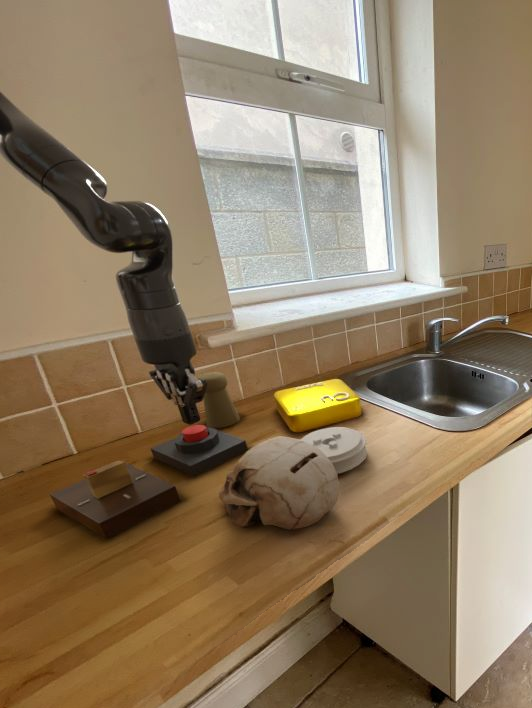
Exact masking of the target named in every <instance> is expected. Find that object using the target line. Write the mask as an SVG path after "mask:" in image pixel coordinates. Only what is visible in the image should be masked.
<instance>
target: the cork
mask: <svg viewBox="0 0 532 708" xmlns="http://www.w3.org/2000/svg"><path fill="white" fill-rule="evenodd" d="M196 378H197V379H198V380H202V379H205V380H206V382H207V387H206V391H205V394H204V398H203V407H204V414H205V421H206V426H208V427H211V428H214V429H222V428H227V427H230V426H233V425H235V424H237V423H239V421H240V419H241V417H240V414H239V413H238V411H237V409H236V406H235V404H234V402H233V400H232V397H231V395H230V393H229V391H228V389H227V386H228V379H227V377H226V375H225V374H224V373H222V372H219V371H210V372H205V373H203V374H201V375H199V376H198V377H196Z"/></svg>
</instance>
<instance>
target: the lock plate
mask: <svg viewBox="0 0 532 708" xmlns="http://www.w3.org/2000/svg"><path fill="white" fill-rule="evenodd" d="M124 463H125V465H126V467H127V470H128V472H129V475H130V477H131V479H132V482H133V483H132V484H130V485H128V486H125V487H123V488H121V489H119V490H117V491H114V492H112V493H110V494H108V495H105V496H103V497H101V498H99V499H97V498H96V497H94V496H93V495H92V493H91V491H90V489H89V486H88V484H87V482H86V480H85V479H83V480H80V481H77V482H75V483H73V484H70V485H68V486H66V487H64V488H61V489H59V490H56V491H53V492H52V493H49V498H51V500H52V503H54V504H53V505H54V506H55V508H56V510H58V511H59V512H61V513H62V514H64V515H66V516H67V517H69V518H71V520H74V521H76V522H77V523H79V524H81V525H83V526H84V527H86V528H87V529H89V530H90V531H93V532H94V533H96V534H97V535H99V536H101V538H102V537H103V538H104V539H105V540H109V539H111V538H112V537H114V536H117V535H118V534H120V533H122V532H124V531H126V530H128V529H129V528H132V527H134V526H135V525H137V524H140V523H141V522H142V521H145V520H146V519H148V518H151V517H153V516H154V515H156V514H158V513H160V512H162V511H164V510H166V509H168V508H170V507H172V506H174V505H175V504H178V503H179V502H181V497H180V494H179V491H178V489H177V486H176V485H175V484H173V483H170V482H168V481H166V480H164V479H162V478H160V477H158V476H156V475H153V474H151V473H149V472H147V471H145V470H143V469H141V468H139V467H136V466H134V465H132V464H130V463H128V462H124Z"/></svg>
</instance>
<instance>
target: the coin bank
mask: <svg viewBox="0 0 532 708" xmlns="http://www.w3.org/2000/svg"><path fill="white" fill-rule="evenodd" d="M339 485H340V484H339V476H338V474H337V472H336V470H335V468H334V466H333V464H332V462H331V461H330V460H329V459H328V458H327V456H326V455H325V454H324V453H323V452H322V451H321V450H320V449H318V448H317V447H315V446H313V445H310V444H308V443H306V442H303V441H301V439H298V438H293V437H288V436H283V435H279V436H278V435H277V436H274V437H270V438H269V439H266V440H263V441H261V442H259V443H257V444H255V445H253V446H252V447H251V448H250V449H248V450H247V451H245V452H244V454H243V455H242V456H241V457H240V458H239V459H238V461H237V462H236V463H235V464H234V466H233V467H232V468H231V469H230V470H229V471H228V472H227V474H226V478H225V482H224V484H223V485H222V486H221V488H220V489H219V491H218V498H219V500H220V501H221V502H222V503H223V504H226V508H225V509H226V512H227V513H228V516H229V519H231V520H232V521H233V522H234V523H235V525H237V526H239V527H240V528H247V527H251V526H252V525H253V524H256V523H257V522H259V521H261V523H262V524H263V525H264V526H276V527H279V528H281V529H285V530H286V531H293V530H298V529H303V528H305V527H306V528H307V527H309V526H313V525H315V524H316V523H317V522H319V521H320V520H321V519H322V518H323V517H324V516H326V515H327V514H328V512H329V511H330V510H332V509H333V508H334V506H335V505H336V503H337V502H338V499H339V495H340V494H339V493H340V486H339Z"/></svg>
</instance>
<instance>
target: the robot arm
mask: <svg viewBox="0 0 532 708" xmlns="http://www.w3.org/2000/svg"><path fill="white" fill-rule="evenodd" d="M0 156H1V157H2V158H3V159H4V160H5V161H6V162H7V164H9V165H10V166H11V167H12V168H13V169H14V170H15V171H16V172H17V173H19V174H20V175H21V176H22V177H24V178H25V179H26V180H27V181H29V182H30V183H31V184H33V186H35V187H36V188H38V189H39V190H40V191H42V192H43V193H44V194H46V195H47V196H48V197H49V198H51V199H52V200H53V201H54V202H55V203H56V204H57V205H58V207H59V208H60V209H61V210H62V213H64V214H65V216H66V217H67V218H68V219H69V220H70V222H71V223H72V224H73V226H74V227H75V228H76V229H77V230H78V232H79V233H80V234H81V235H82V237H83V238H84V239H85V240H87V241H88V242H89V243H90V244H92V245H94V246H96V247H97V248H98V249H101V250H103V251H106V252H110V253H115V254H124V253H131V261H130V263H129V264H127V266H124V267H123V268H120V269H119V270H118V271H116V273H115V281H116V284H117V285H116V286H117V288H118V290H119V293H120V296H121V299H122V302H123V305H124V307H125V310H126V316H127V322H128V324H129V327H130V331H131V333H132V335H133V338H134V342H135V344H136V347H137V350H138V353H139V355H140V358H141V360H142V361H143V363H145V364H147V365H154V368H155V369H152V370H149V371H148V372H149V376H150V377H151V379H152V380H153V381H154V383H155V384H156V386H157V387H158V388H159V389H160V391H161V392H162V394H163V395H164V396H165V397H166V399H167V400H168V401H171V400H172V402H173V404H174V405H175V406H177V409H178V411H179V414H180V418H181V421H182V423H184V424H186V425H189V426H192V425H195V424H196V423H198V422H201V416H200V413H199V409H198V407H197V404H198V403H201V402H204V400H203V398H204V394H205V391H206V387H207V382H206V380H205V379H202V380H198V379H197V378H198V377H197V376H196V370H195V368H194V366H193V364H192V362H191V360H192V359H193V357H195V356H196V355H197V353H198V352H197V347H196V345H195V341H194V338H193V335H192V331H191V328H190V325H189V321H188V318H187V315H186V313H185V310H184V309H183V307H182V303H181V301H180V298H179V294H178V292H177V289H176V285H175V282H174V278H173V270H174V269H173V268H174V257H173V256H174V255H173V252H174V251H173V250H174V249H173V246H174V244H173V234H172V230H171V227H170V224H169V222H168V220H167V218H166V217H165V216H164V214H163V213H162V212H161V211H160V210H159V209H158V208H157V207H155V206H154V205H153V204H151V203H148V202H147V201H141V200H120V201H118V200H117V201H108V200H106V199H105V198H106V196H107V194H108V184H107V181H106V180H105V178H104V177H103V176H102V175H101V174H100V173H99V172H98V171H97V170H95V169H94V168H93V167H92V166H91V165H90V164H89V163H87V162H86V161H85V160H84V159H83V158H81V157H80V156H78V155H77V154H76V153H75V152H74V151H73V150H71V149H70V148H69V147H67V146H66V145H65V144H64V143H63V142H62V141H60V140H59V139H57V138H56V137H55V136H53V134H51V133H49V132H48V131H47V130H46V129H44V128H43V127H42V126H41V125H39V124H38V123H37V122H35V121H34V120H33V119H32V118H30V117H29V115H26V113H24V112H23V111H22V110H21V109H20V108H19V107H18V106H16V105H15V104H14V103H13V102H12V101H11V100H10V99H9V98H8V97H7V96H6V95H5V94H4V93H3V92H2V91H1V90H0Z"/></svg>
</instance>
